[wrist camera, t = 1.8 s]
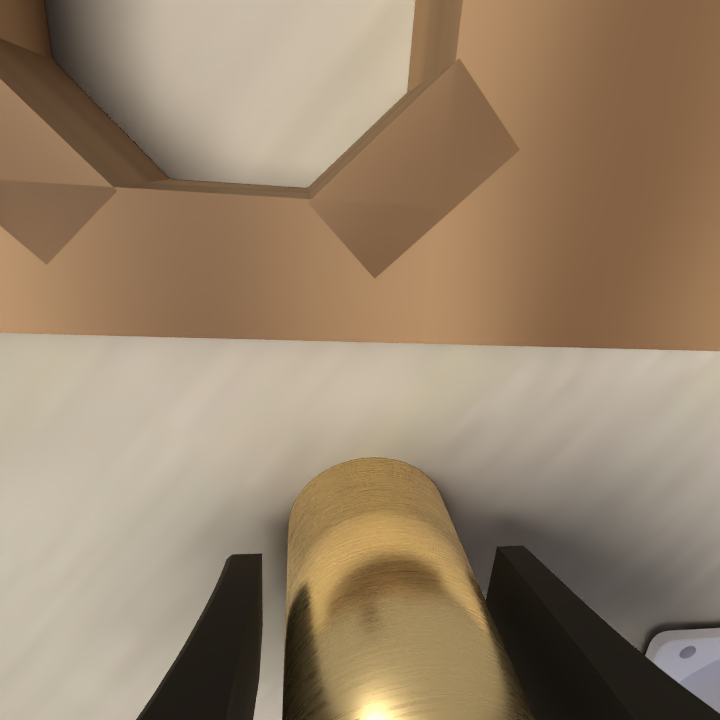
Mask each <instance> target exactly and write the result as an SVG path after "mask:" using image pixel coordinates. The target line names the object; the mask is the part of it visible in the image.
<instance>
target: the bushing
mask: <svg viewBox="0 0 720 720" xmlns="http://www.w3.org/2000/svg"><path fill="white" fill-rule="evenodd" d="M282 720H535V718H534V715H533V713H532V711H531V708H530V706H529V703H528V701H527V699H526V696H525V694H524V692H523V689H522V687H521V684H520V682H519V680H518V677H517V675H516V673H515V670H514V668H513V665H512V663H511V661H510V658H509V656H508V654H507V651H506V649H505V646H504V644H503V642H502V639H501V637H500V635H499V632H498V630H497V628H496V625H495V623H494V620H493V618H492V616H491V613H490V611H489V609H488V606H487V604H486V601H485V599H484V597H483V594H482V592H481V590H480V587H479V585H478V582H477V580H476V578H475V575H474V573H473V571H472V568H471V566H470V563H469V561H468V559H467V556H466V554H465V552H464V549H463V547H462V545H461V542H460V540H459V537H458V535H457V533H456V530H455V528H454V526H453V523H452V521H451V518H450V516H449V514H448V511H447V509H446V507H445V504H444V502H443V499H442V497H441V495H440V492H439V491H438V489H437V487H436V486H435V484H434V483H433V482H432V481H431V480H430V479H429V478H428V477H427V476H426V475H425V474H424V473H422V472H421V471H420V470H418V469H416V468H415V467H413V466H411V465H408V464H406V463H403V462H400V461H397V460H392V459H386V458H362V459H356V460H351V461H348V462H344V463H341V464H339V465H336V466H334V467H332V468H330V469H328V470H326V471H325V472H323V473H321V474H320V475H318V476H317V477H316V478H314V479H313V480H312V481H311V482H310V483H309V484H308V485H307V486H306V487H305V488H304V489H303V491H302V492H301V493H300V494H299V496H298V498H297V499H296V501H295V503H294V505H293V507H292V510H291V514H290V517H289V526H288V555H287V586H286V618H285V650H284V681H283V713H282Z"/></svg>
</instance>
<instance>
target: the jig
mask: <svg viewBox="0 0 720 720" xmlns="http://www.w3.org/2000/svg"><path fill="white" fill-rule="evenodd" d="M0 333H30V334H70V335H109V336H148V337H187V338H227V339H266V340H305V341H344V342H383V343H423V344H462V345H501V346H540V347H580V348H619V349H658V350H697V351H720V0H416V2H415V13H414V24H413V35H412V47H411V58H410V69H409V80H408V91H407V93H406V94H405V95H404V96H403V97H402V98H401V99H400V100H399V101H398V102H397V103H396V104H395V105H394V106H393V107H392V108H391V109H390V110H389V111H388V112H387V113H385V114H384V115H383V116H382V117H381V118H380V119H379V120H378V121H377V122H376V123H375V124H374V125H373V126H372V127H371V128H370V129H369V130H368V131H367V132H366V133H365V134H364V135H363V136H361V137H360V138H359V139H358V140H357V141H356V142H355V143H354V144H353V145H352V146H351V147H350V148H349V149H348V150H347V151H346V152H345V153H344V154H343V155H342V156H341V157H340V158H338V159H337V160H336V161H335V162H334V163H333V164H332V165H331V166H330V167H329V168H328V169H327V170H326V171H325V172H324V173H323V174H322V175H321V176H320V177H319V178H318V179H317V180H316V181H314V182H313V183H312V184H311V185H310V186H309V187H308V188H298V187H282V186H267V185H252V184H236V183H221V182H206V181H190V180H175V179H170V178H169V177H168V176H167V175H166V174H165V173H164V172H163V171H162V170H161V169H160V168H159V167H158V166H157V165H156V164H155V163H154V162H153V161H152V160H151V159H150V158H149V157H148V156H147V155H146V154H145V153H144V152H143V151H142V150H141V149H140V148H139V147H138V146H137V145H136V144H135V143H134V142H133V141H132V140H131V139H130V138H129V137H128V136H127V135H126V134H125V133H124V132H123V131H122V130H121V129H120V128H119V127H118V126H117V125H116V124H115V123H114V122H113V121H112V120H111V119H110V118H109V117H108V116H107V115H106V114H105V113H104V112H103V111H102V109H101V108H100V107H99V106H98V105H97V104H96V103H95V102H94V101H93V100H92V99H91V98H90V97H89V96H88V95H87V94H86V93H85V92H84V91H83V90H82V89H81V88H80V87H79V86H78V85H77V84H76V83H75V82H74V81H73V80H72V79H71V78H70V77H69V76H68V75H67V74H66V73H65V72H64V71H63V70H62V69H61V68H60V67H59V66H58V65H57V64H56V63H55V62H54V61H53V60H52V53H51V46H50V39H49V32H48V25H47V17H46V10H45V3H44V0H0Z"/></svg>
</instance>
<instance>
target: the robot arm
mask: <svg viewBox="0 0 720 720" xmlns="http://www.w3.org/2000/svg"><path fill="white" fill-rule="evenodd" d="M486 604H487V606H488V609H489V611H490V613H491V616H492V618H493V620H494V623H495V625H496V628H497V630H498V632H499V635H500V637H501V639H502V642H503V644H504V646H505V649H506V651H507V654H508V656H509V658H510V661H511V663H512V665H513V668H514V670H515V673H516V675H517V677H518V680H519V682H520V684H521V687H522V689H523V692H524V694H525V696H526V699H527V701H528V703H529V706H530V708H531V711H532V713H533V715H534V718H535V720H720V628H708V629H690V630H672V631H664V632H661V633H659V634H657V635H656V636H655V637H654V638H653V639H652V640H651V642H650V644H649V647H648V650H647V652H646V655H643V654H642V653H641V652H640V651H639V650H637V649H636V648H635V647H634V646H632V645H631V644H630V643H629V642H628V641H627V640H625V639H624V638H623V637H622V636H621V635H620V634H619V633H617V632H616V631H615V630H614V629H613V628H612V627H610V626H609V625H608V624H607V623H606V622H605V621H604V620H603V619H601V618H600V617H599V616H598V615H597V614H596V613H595V612H594V611H593V610H592V609H590V608H589V607H588V606H587V605H586V604H585V603H584V602H583V601H582V600H581V599H580V598H579V597H577V596H576V595H575V594H574V593H573V592H572V591H571V590H570V589H569V588H568V587H567V586H566V585H565V584H564V583H563V582H561V581H560V580H559V579H558V578H557V577H556V576H555V575H554V574H553V573H552V572H551V571H550V570H549V569H548V568H547V567H546V566H545V565H543V564H542V563H541V562H540V561H539V560H538V559H537V558H536V557H535V556H534V555H533V554H532V553H531V552H530V551H528V550H527V549H526V548H525V547H524V546H505V547H497V550H496V555H495V560H494V565H493V569H492V574H491V579H490V583H489V588H488V593H487V597H486ZM262 626H263V621H262V554H235V555H231V556H230V557H229V558H228V559H227V560H226V563H225V566H224V568H223V571H222V573H221V575H220V578H219V580H218V582H217V584H216V587H215V589H214V591H213V593H212V595H211V597H210V599H209V601H208V603H207V605H206V607H205V609H204V611H203V612H202V614H201V616H200V618H199V620H198V621H197V623H196V625H195V627H194V629H193V630H192V632H191V634H190V636H189V638H188V639H187V641H186V643H185V645H184V646H183V648H182V650H181V651H180V653H179V655H178V656H177V658H176V660H175V661H174V663H173V664H172V666H171V667H170V669H169V671H168V672H167V674H166V675H165V677H164V679H163V680H162V682H161V683H160V685H159V686H158V688H157V690H156V691H155V693H154V694H153V696H152V697H151V699H150V700H149V702H148V703H147V705H146V706H145V708H144V709H143V711H142V712H141V713H140V715H139V716H138V718H137V719H136V720H253V716H254V710H255V703H256V696H257V690H258V683H259V673H260V658H261V642H262Z"/></svg>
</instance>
